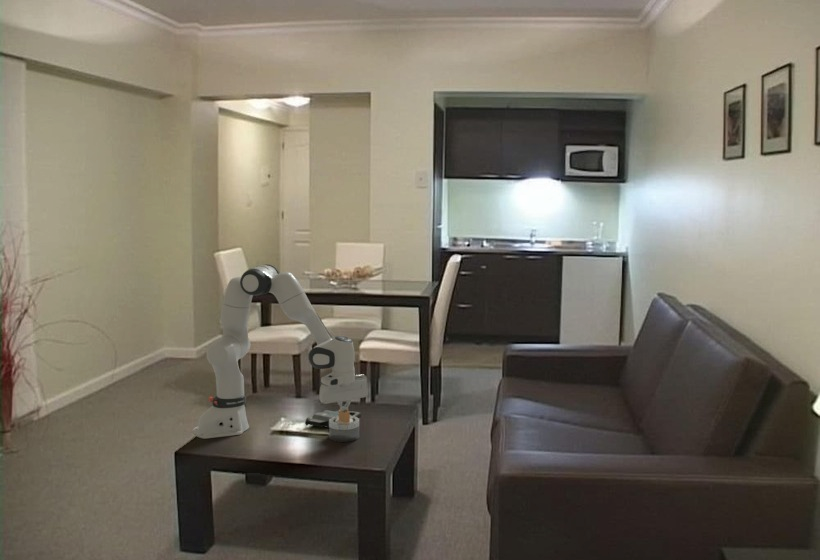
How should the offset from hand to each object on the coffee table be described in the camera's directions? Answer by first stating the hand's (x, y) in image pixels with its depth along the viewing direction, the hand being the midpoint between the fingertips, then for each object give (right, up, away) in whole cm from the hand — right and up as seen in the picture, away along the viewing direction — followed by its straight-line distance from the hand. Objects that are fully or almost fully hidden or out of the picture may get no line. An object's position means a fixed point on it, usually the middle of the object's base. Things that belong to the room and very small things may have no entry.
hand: (344, 410), depth 301 cm
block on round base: (0, -6, +1) cm, 6 cm away
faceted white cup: (0, -11, +1) cm, 11 cm away
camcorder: (-5, -9, +17) cm, 20 cm away
